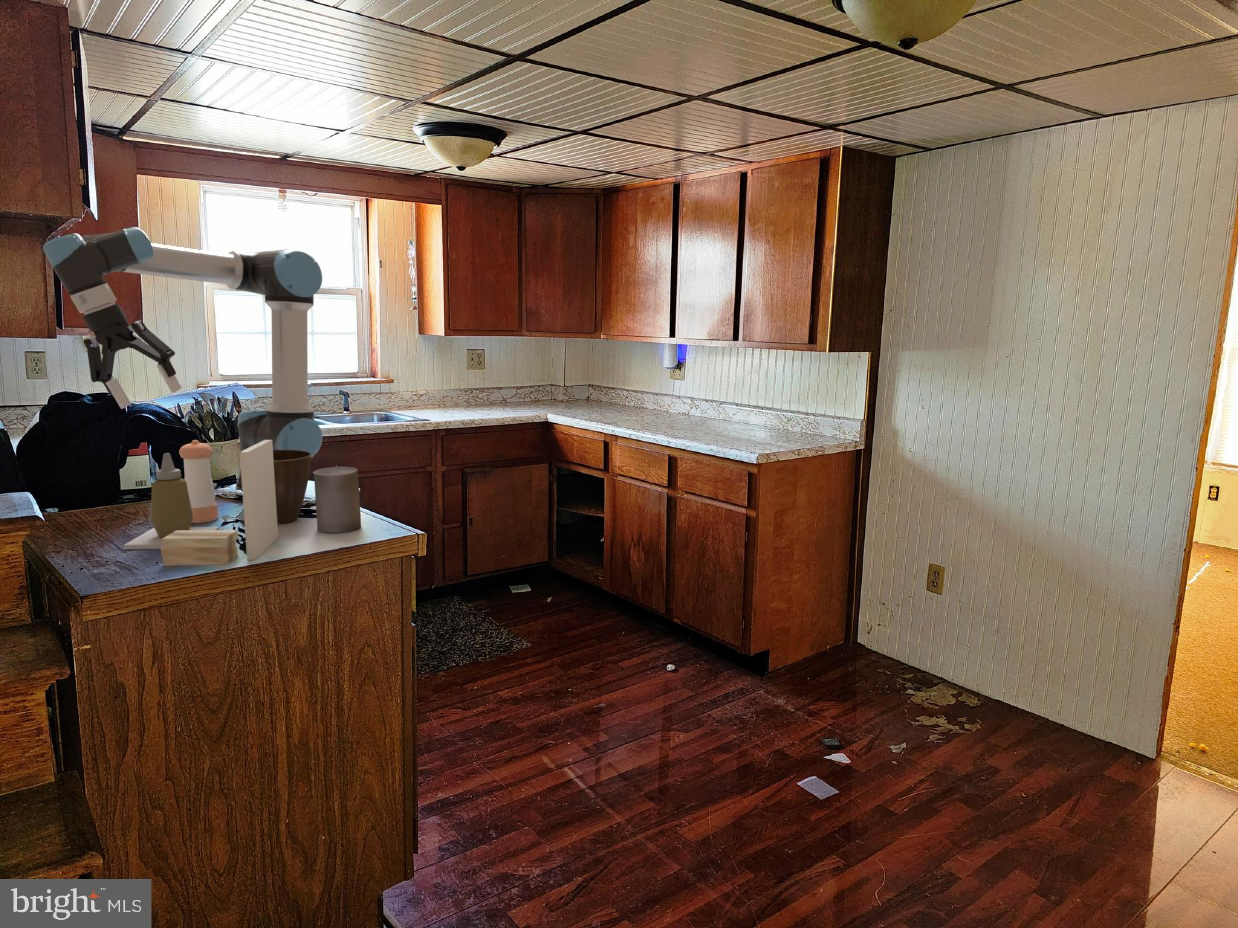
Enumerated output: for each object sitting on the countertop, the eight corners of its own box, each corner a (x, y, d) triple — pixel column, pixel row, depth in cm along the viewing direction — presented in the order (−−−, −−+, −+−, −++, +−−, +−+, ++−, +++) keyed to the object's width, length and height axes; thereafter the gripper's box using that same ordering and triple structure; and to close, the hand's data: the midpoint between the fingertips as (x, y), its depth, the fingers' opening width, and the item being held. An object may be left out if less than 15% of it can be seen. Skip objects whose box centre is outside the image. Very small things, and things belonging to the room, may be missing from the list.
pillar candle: (356, 521, 195) (353, 459, 192) (365, 530, 187) (361, 466, 184) (314, 526, 191) (309, 463, 188) (320, 535, 182) (316, 470, 179)
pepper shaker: (219, 514, 199) (213, 437, 196) (216, 521, 192) (210, 442, 189) (186, 517, 196) (179, 438, 193) (182, 524, 190) (175, 443, 186)
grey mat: (154, 531, 183) (154, 527, 183) (219, 530, 185) (219, 526, 184) (124, 549, 169) (124, 544, 169) (195, 548, 171) (195, 543, 171)
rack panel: (271, 538, 179) (264, 439, 175) (278, 538, 180) (272, 439, 176) (247, 559, 164) (239, 452, 160) (254, 559, 164) (247, 452, 160)
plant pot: (325, 514, 201) (322, 450, 198) (296, 529, 187) (292, 461, 184) (268, 511, 203) (264, 448, 200) (234, 527, 188) (229, 459, 185)
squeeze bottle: (146, 535, 177) (139, 453, 173) (185, 528, 183) (179, 449, 179) (160, 542, 171) (153, 458, 168) (200, 535, 177) (194, 453, 174)
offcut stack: (175, 556, 165) (173, 530, 164) (240, 555, 167) (238, 529, 166) (161, 565, 159) (158, 539, 158) (228, 564, 160) (226, 538, 159)
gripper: (39, 329, 173) (94, 419, 181) (137, 296, 168) (189, 389, 176) (64, 320, 180) (116, 407, 188) (158, 288, 175) (207, 378, 182)
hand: (151, 398), depth 182 cm, fingers open, 13 cm apart
